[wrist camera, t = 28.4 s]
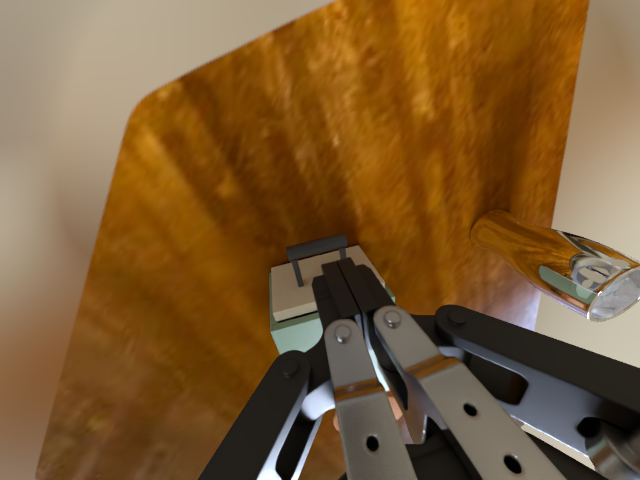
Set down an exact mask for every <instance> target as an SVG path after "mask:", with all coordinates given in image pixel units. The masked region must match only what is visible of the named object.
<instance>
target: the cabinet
mask: <svg viewBox="0 0 640 480" xmlns="http://www.w3.org/2000/svg"><path fill="white" fill-rule="evenodd" d="M269 286H270V332H271V334H272V337H273V339H274V341H275V344H276V346H277V349H278V351H279V354H280V355H281V354H282V353H284V352H287V351H290V350H299V351H302V352H306V351H307V350H309V349H310V348H312V347H313V346H315V345H316V344H317V343H318V341H319V340H320V338H321V336H322V333H323V329H322V325H321V321H320V318H319V314H318V312H317V313H313V314H310V315H306V316H303V317H299V318H295V319H292V320H288V321H285V319H284V320H280V321H277V322H276V321H275V318H274V315H273V308H272V278H271V273H269ZM385 290H386V291H387V293H388V294H389V296H390V297H391V299H392V300H393V301H394V303H395V296H394V294H393V293H392V292H391V290H390V289H389V288H388V286H387V285H386V283H385ZM369 354H370V357H371V359H372V362H373V365H374V368H375V371H376V374H377V377H378V379H379V381H380V382H381V383H382V384H383V386H384V388H385V391H388V390H390V389H389V387H388V385H387V384H386V382H385V380H384V378H383V376H382V374H381V372H380V370H379V368H378V366H377V358H376V355H375V353H374V351H373V349H372V350H369ZM332 408H335V404H334V405H333V406H331V407H330V408H329V409H332ZM329 409H328V410H329Z"/></svg>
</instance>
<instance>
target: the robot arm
mask: <svg viewBox="0 0 640 480" xmlns="http://www.w3.org/2000/svg"><path fill="white" fill-rule="evenodd" d="M321 268H322V273H323V275H320V276H316V277H314V278H313V281H312V285H311V286H312V290H313V294H314V298H315V302H316V306H317V310H318V314H319V318H320V321H321V325H322V329H323V333H322V336H321V338H320V340H319V341H318V343H317V344H316V345H315V346H313V347H312V348H310V349H309V350H307V351H306V352H302V351H299V350H290V351H287V352H284V353H282V354H281V355H280V356H278V357H277V358H276V359H275V361H274V362H273V364H272V365H271V367H270V368H269V370H268V371H267V373H266V375H265V376H264V378H263V379H262V381H261V382H260V384H259V385H258V387H257V389H256V390H255V392H254V393H253V395H252V396H251V398H250V399H249V401H248V402H247V404H246V406H245V407H244V409H243V410H242V412H241V413H240V415H239V416H238V418H237V419H236V421H235V423H234V424H233V426H232V427H231V429H230V430H229V432H228V433H227V435H226V437H225V438H224V440H223V441H222V443H221V444H220V446H219V447H218V449H217V450H216V452H215V454H214V455H213V457H212V458H211V460H210V461H209V463H208V464H207V466H206V467H205V469H204V471H203V472H202V474H201V475H200V477H199V478H198V480H298V477H299V475H300V472H301V470H302V467H303V465H304V462H305V460H306V457H307V455H308V452H309V450H310V447H311V445H312V442H313V440H314V437H315V435H316V432H317V430H318V427H319V425H320V422H321V420H322V417H323V413H324V412H325V411H326V410H328V409H329V408H330V407H331V406H333V405H334V404H335V408H336V414H337V419H338V425H339V431H340V437H341V443H342V449H343V454H344V460H345V466H346V472H345V473H344V474H343V475H342V476H341V477H340V478H339V479H338V480H640V368H637V367H635V366H632V365H629V364H626V363H623V362H620V361H617V360H614V359H611V358H609V357H606V356H603V355H600V354H597V353H594V352H591V351H588V350H586V349H583V348H580V347H577V346H574V345H571V344H568V343H565V342H563V341H559V340H557V339H554V338H551V337H548V336H545V335H542V334H539V333H537V332H534V331H531V330H528V329H525V328H522V327H519V326H516V325H514V324H511V323H508V322H505V321H502V320H499V319H496V318H493V317H491V316H488V315H485V314H482V313H479V312H476V311H473V310H470V309H467V308H465V307H462V306H458V305H444V306H442V307H440V308H439V309H438V310H437V311H436V313H435V315H412V314H409V313H408V312H407V311H406V310H405V309H403V308H401V307H398V306H396V304H395V303H394V301H393V300H392V299H391V297H390V296H389V294H388V293H387V291H386V290H385V288H384V287H383V285H382V284H381V283H380V281H379V279H378V278H377V277H376V275H375V274H374V272H373V271H372V269H371V268H369V267H367V266H366V265H364V264H361V265H357V266H356V265H355V263H354V262H353V260H352V258H351V257H347V258H344V259H340V260H336V261H332V262H329V263H325V264H321ZM372 349H373V351H374V353H375V355H376V358H377V366H378V368H379V370H380V372H381V374H382V376H383V378H384V380H385V382H386V384H387V385H388V387H389V389H390V391H391V393H392V395H393V397H394V399H395V400H396V402H397V404H398V406H399V408H400V410H401V412H402V414H403V416H404V418H405V421H406V424H407V427H408V430H409V433H410V435H411V438H412V440H413V442H414V444H405V443H404V441H403V438H402V435H401V432H400V429H399V427H398V424H397V421H396V418H395V415H394V413H393V410H392V407H391V404H390V401H389V399H388V396H387V393H386V391H385V388H384V386H383V384H382V383H381V382H380V381H379V379H378V377H377V374H376V371H375V368H374V365H373V362H372V359H371V357H370V354H369V350H372ZM510 415H511V416H513V417H514V418H516V419H518V420H520V421H522V422H524V423H526V424H527V425H529V426H531V427H533V428H535V429H537V430H539V431H541V432H542V433H544V434H546V435H548V436H550V437H552V438H553V439H555V440H557V441H559V442H561V443H563V444H565V445H566V446H568V447H570V448H572V449H574V450H576V451H578V452H580V453H581V454H583V455H585V456H587V457H589V458H590V460H591V462H592V463H593V465H594V466H595V471H594V470H592V469H590V468H589V467H587V466H585V465H584V464H582V463H580V462H578V461H576V460H575V459H573V458H572V457H570V456H568V455H566V454H565V453H563V452H561V451H560V450H558V449H556V448H554V447H553V446H551V445H549V444H547V443H546V442H544V441H542V440H541V439H539V438H537V437H535V436H534V435H532V434H530V433H528V432H525V431H523V430H522V429H521V427H520V426H519V425H518V424H517V423H516V422H515V421H514V420H513V418H512V417H511V416H510Z"/></svg>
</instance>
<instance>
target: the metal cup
mask: <svg viewBox="0 0 640 480" xmlns="http://www.w3.org/2000/svg"><path fill="white" fill-rule="evenodd" d="M470 239H471V242H472V243H473V244H474V245H475V246H477V247H479V248H482V249H485V250H487V251H490V252H492V253H494V254H495V255H497V256H498V257H500V258H501V259H502V260H504V261H505V262H506V263H507V264H508V265H509V266H510V267H512V268H513V269H514V270H515V271H516V272H517V273H518V274H519V275H520V276H522V277H523V278H524V279H525V280H526V281H528V282H529V283H530V284H531V285H533V286H534V287H535V288H537V289H538V290H540V291H541V292H543V293H544V294H546V295H547V296H549V297H551V298H552V299H554V300H556V301H557V302H559V303H561V304H563V305H564V306H566V307H568V308H570V309H572V310H573V311H575V312H577V313H579V314H581V315H583V316H584V317H586V318H588V319H589V320H591V321H593V322H602V321H606V320H609V319H612V318H614V317H616V316H618V315H620V314H622V313H623V312H625V311H627V310H628V309H630V308H631V307H632V306H634V305H635V304H636V303H637V302H638V301H639V300H640V261H638V260H636V259H634V258H632V257H630V256H628V255H625V254H623V253H621V252H619V251H616V250H614V249H612V248H610V247H607V246H605V245H602V244H600V243H598V242H595V241H592V240H589V239H587V238H584V237H581V236H577V235H573V234H570V233H566V232H562V231H558V230H554V229H549V228H545V227H540V226H536V225H532V224H529V223H526V222H523V221H521V220H519V219H517V218H515V217H514V216H513V215H511V214H510V213H508V212H506V211H505V210H502V209H493V210H490V211H488V212H486V213H484V214H483V215H481V216H480V217H479V218H478V219H477V220H476V222H475V223H474V225H473V227H472V229H471V232H470Z"/></svg>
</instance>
